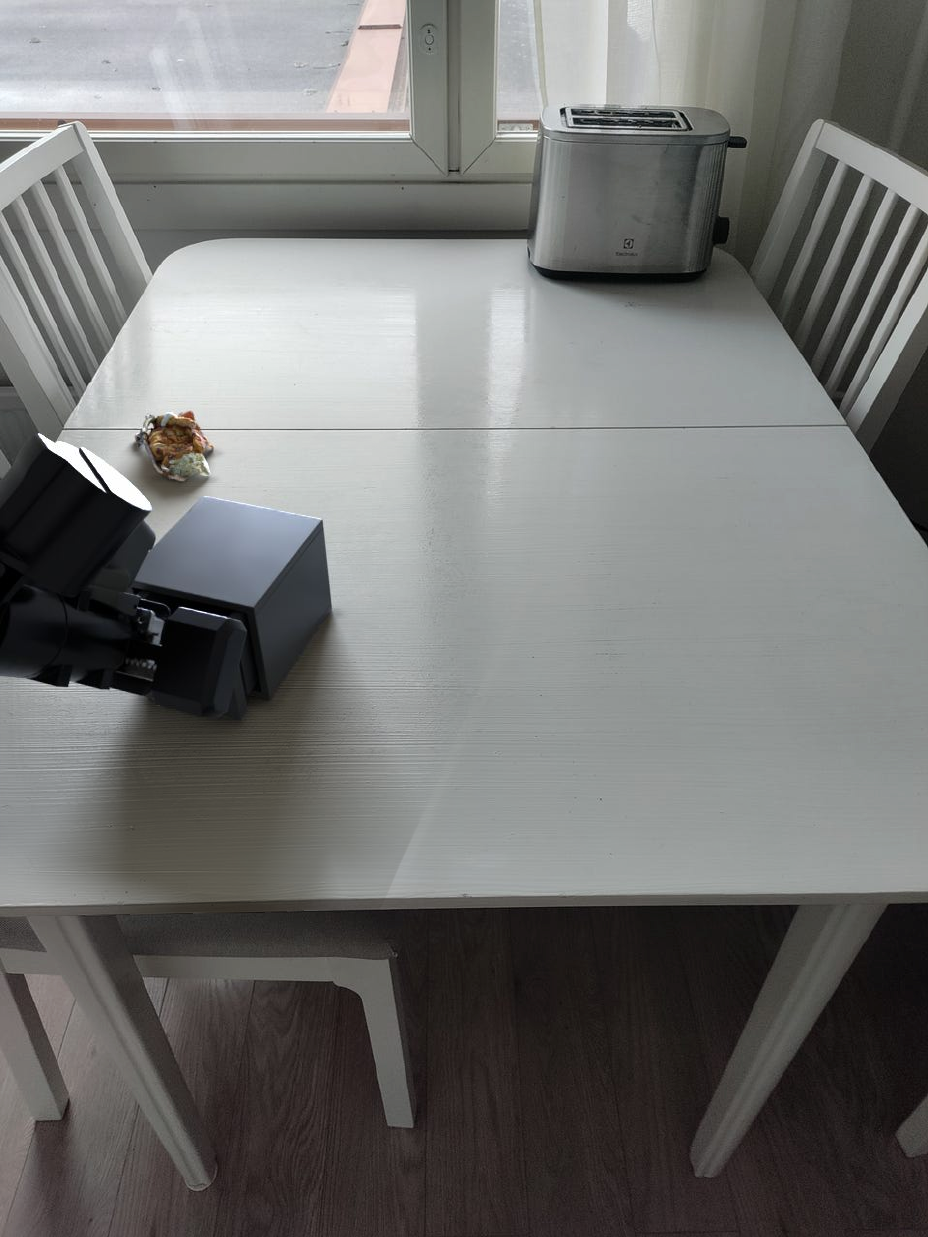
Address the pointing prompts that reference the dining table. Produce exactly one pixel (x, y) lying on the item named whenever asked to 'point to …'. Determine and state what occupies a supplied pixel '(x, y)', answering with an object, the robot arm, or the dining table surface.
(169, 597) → the fryer drawer
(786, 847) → the dining table surface
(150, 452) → the pastry
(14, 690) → the dining table surface
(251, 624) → the dark grey box
